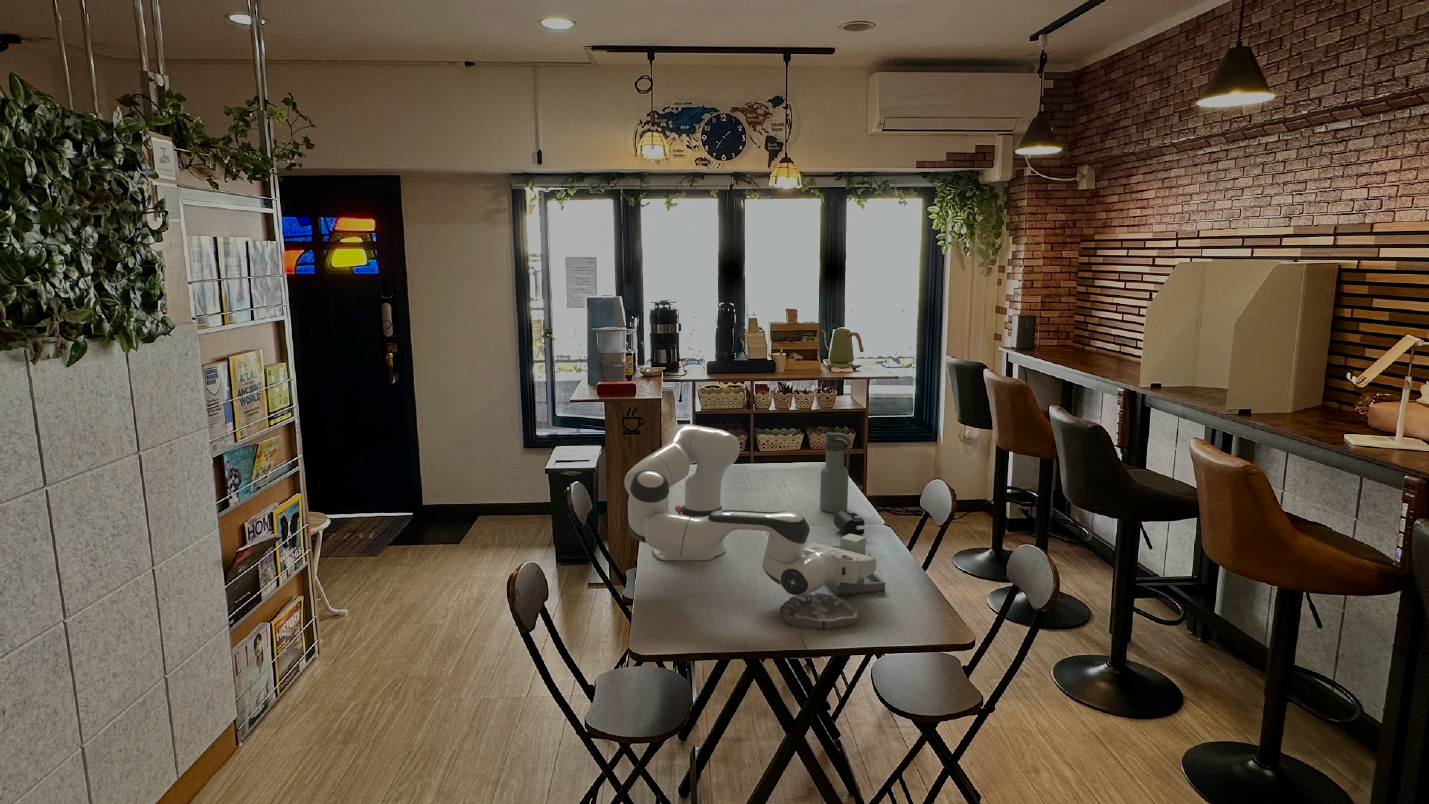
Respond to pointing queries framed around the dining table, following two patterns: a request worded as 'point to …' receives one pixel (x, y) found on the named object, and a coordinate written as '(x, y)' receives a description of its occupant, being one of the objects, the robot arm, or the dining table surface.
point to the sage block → (853, 547)
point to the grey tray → (859, 586)
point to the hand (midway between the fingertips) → (853, 551)
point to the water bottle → (835, 474)
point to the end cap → (849, 523)
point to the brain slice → (819, 611)
